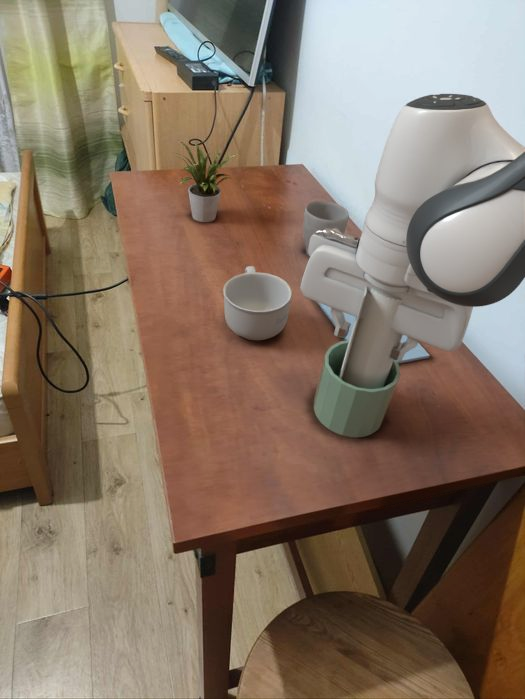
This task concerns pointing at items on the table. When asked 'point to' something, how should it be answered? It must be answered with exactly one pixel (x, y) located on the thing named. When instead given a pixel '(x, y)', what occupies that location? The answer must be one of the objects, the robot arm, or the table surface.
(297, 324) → the table surface
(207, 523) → the table surface
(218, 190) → the house plant
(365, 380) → the paper towel roll
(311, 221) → the mug
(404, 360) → the mat
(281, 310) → the teacup
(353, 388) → the sage green pencil cup
